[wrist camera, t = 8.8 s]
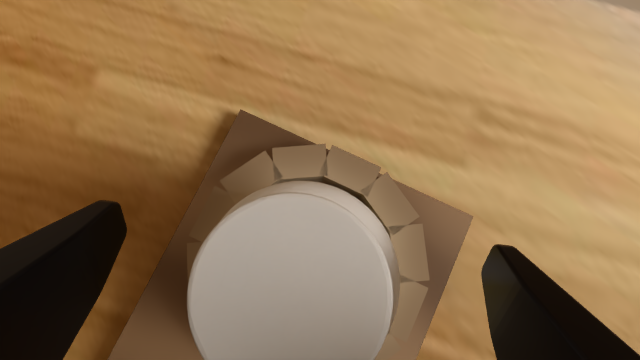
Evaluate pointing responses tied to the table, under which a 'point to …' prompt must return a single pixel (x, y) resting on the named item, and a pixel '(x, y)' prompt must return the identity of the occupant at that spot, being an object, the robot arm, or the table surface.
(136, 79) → the table surface
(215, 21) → the table surface
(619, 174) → the table surface
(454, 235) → the board
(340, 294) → the supplement bottle
